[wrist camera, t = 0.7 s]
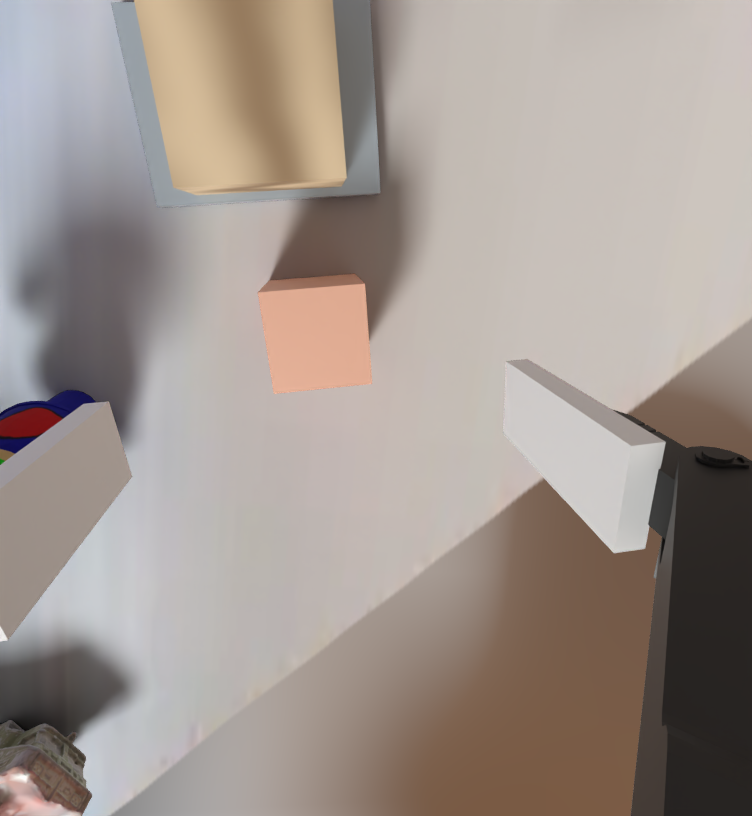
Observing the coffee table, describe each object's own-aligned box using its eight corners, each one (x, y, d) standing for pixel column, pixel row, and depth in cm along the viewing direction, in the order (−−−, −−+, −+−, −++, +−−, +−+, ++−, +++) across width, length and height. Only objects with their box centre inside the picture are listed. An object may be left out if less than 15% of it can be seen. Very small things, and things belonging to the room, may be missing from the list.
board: (162, 207, 29) (156, 206, 28) (120, 12, 25) (110, 2, 24) (378, 194, 30) (380, 192, 29) (367, 7, 26) (369, -3, 25)
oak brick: (196, 195, 28) (173, 187, 23) (161, 13, 24) (125, -39, 20) (341, 186, 29) (346, 177, 24) (326, 9, 25) (329, -41, 21)
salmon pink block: (281, 362, 34) (274, 393, 27) (269, 280, 31) (257, 292, 25) (360, 355, 34) (372, 383, 28) (354, 273, 32) (364, 283, 25)
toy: (4, 333, 30) (-258, 418, 16) (149, 374, 32) (27, 480, 19) (-10, 470, 34) (-238, 637, 20) (122, 499, 36) (2, 667, 22)
